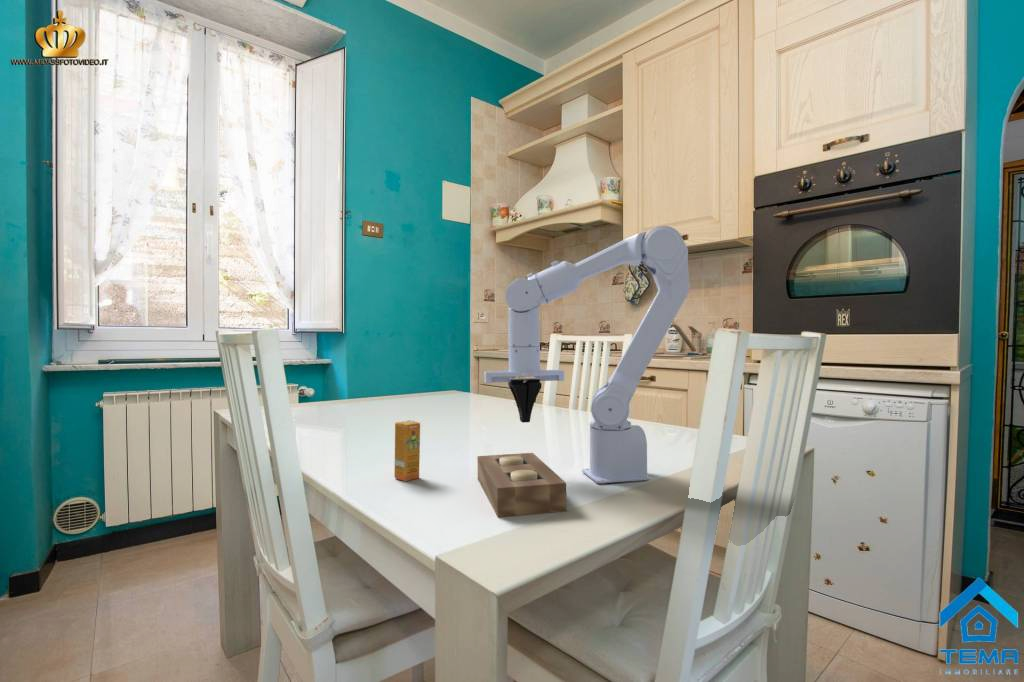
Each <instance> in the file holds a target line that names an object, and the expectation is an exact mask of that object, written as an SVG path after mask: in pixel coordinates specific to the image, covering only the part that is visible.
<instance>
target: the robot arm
mask: <svg viewBox="0 0 1024 682" xmlns="http://www.w3.org/2000/svg"><path fill="white" fill-rule="evenodd" d="M688 257H689V249H688V246H687V244H686V242H685V240H684V239H683V236H682V234H681V233H680V232H679V231H678V230H677V229H676V228H674V227H672V226H669V225H659V226H655V227H653V228H652V229H651V230H649V232H648V233H647V231H643V232H639V233H636V234H634V235H632V236H629V237H627V238H624V239H622V240H621V241H619V242H617V243H614V244H612V245H610V246H609V247H607V248H605V249H602V250H601V251H598V252H596V253H594V254H592V255H590V256H588V257H586V258H584V259H582V260H580V261H578V262H576V263H571V262H568V261H567V260H564V261H561V262H559V260H555V261H552V262H551V263H550V264H551V266H550V267H548V268H545V269H544V270H542V271H539V272H537V273H534V274H533V272H530V273H528V274H527V275H526V276H527V278H523V277H518V278H516V279H515V280H514V281H512V282H510V284H508V285H507V288H506V290H505V301H506V304H507V306H509V307H508V321H507V327H508V328H507V334H508V337H507V338H508V344H507V345H508V370H494V371H484V372H483V373H484V374H483V376H484V377H483V379H484V380H483V381H484V383H486V384H492V383H494V384H495V383H507V384H508V388H509V390H510V392H511V394H512V396H513V398H514V400H515V404H516V408H517V410H518V416H519V421H520V423H531V417H532V413H533V408H534V405H535V402H536V399H537V397H538V395H539V393H540V391H541V389H542V382H549V381H550V382H551V381H552V382H554V381H557V382H558V381H559V382H563V381H565V370H564V369H541V347H540V346H541V338H540V336H541V335H540V334H541V332H540V331H541V330H540V328H541V326H540V324H541V323H540V321H539V318H540V317H539V308H540V307H541V305H542V304H545V305H546V304H549V303H552V302H554V301H556V300H558V299H560V298H563V297H565V296H568V295H571V294H572V293H574V292H577V291H578V290H579V287H580V285H581V283H582V281H584V280H586V279H589V278H591V277H594V276H596V275H599V274H602V273H604V272H606V271H609V270H611V269H613V268H614V269H615V268H616V267H619V266H621V265H628V266H634V267H640V264H641V263H642V264H643V265H644V266H645V268H646V269H647V270H648V271H649V272H650V274H651V275H652V278H653V280H654V283H655V285H656V288H657V292H656V295H655V296H654V298H653V300H652V302H651V304H650V306H649V308H648V309H647V311H646V313H645V315H644V317H643V318H642V320H641V322H640V324H639V325H638V328H637V330H636V331H635V332H634V335H633V336H632V338H631V340H630V342H629V344H628V345H627V347H626V349H625V351H624V353H623V355H622V356H621V358H620V360H619V362H618V364H617V365H616V368H615V369H614V370H613V372H612V373H611V375H610V376H609V379H608V381H606V384H605V385H603V386H601V387H600V388H599V389H597V391H596V392H595V393H594V395H593V398H592V403H591V406H590V412H591V416H592V418H593V420H592V421H590V422H589V468H582V470H581V472H582V473H584V474H585V475H586V476H587V477H588V478H590V479H591V480H593V481H595V482H596V484H608V483H609V484H610V483H623V482H634V481H635V482H637V481H648V480H650V476H649V475H648V442H647V437H646V433H645V430H644V429H643V428H642V426H640V425H637V424H636V425H635V424H634V425H632V422H631V421H629V415H630V403H631V400H632V399H633V397H634V395H635V392H636V390H637V387H638V385H639V383H640V381H641V379H642V377H643V375H644V374H645V372H646V370H647V368H648V366H649V365H650V363H651V361H652V359H653V358H654V356H655V354H656V352H657V351H658V348H659V347H660V345H661V343H662V341H663V340H664V338H665V336H666V334H667V332H668V330H669V329H670V328H671V325H672V323H673V322H674V320H675V318H676V316H677V314H678V313H679V311H680V309H681V307H682V305H683V304H684V302H685V300H686V298H687V297H688V295H689V292H690V289H691V286H690V285H691V284H690V276H689V273H690V272H689V261H688V259H689V258H688ZM518 377H519V378H518ZM525 377H526V378H525ZM527 377H528V378H527ZM530 377H531V378H530Z"/></svg>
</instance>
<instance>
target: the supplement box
mask: <svg viewBox="0 0 1024 682" xmlns="http://www.w3.org/2000/svg"><path fill="white" fill-rule="evenodd" d="M394 431H395V432H394V479H396V480H399V481H403V482H409V481H412V480H415V479H419V478H420V458H421V457H420V455H421V454H420V453H421V451H420V448H421V446H420V445H421V422H419V421H415V420H402V421H397V422H396V421H395V423H394Z"/></svg>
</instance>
